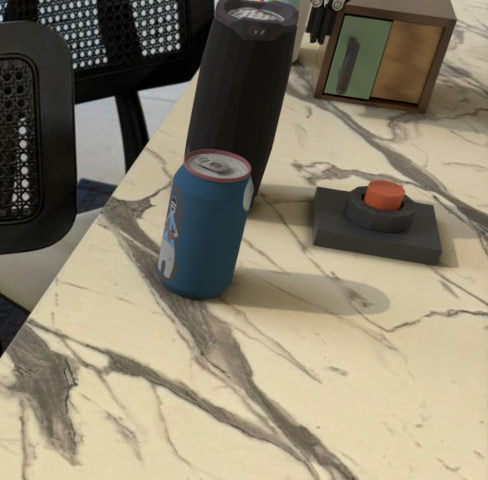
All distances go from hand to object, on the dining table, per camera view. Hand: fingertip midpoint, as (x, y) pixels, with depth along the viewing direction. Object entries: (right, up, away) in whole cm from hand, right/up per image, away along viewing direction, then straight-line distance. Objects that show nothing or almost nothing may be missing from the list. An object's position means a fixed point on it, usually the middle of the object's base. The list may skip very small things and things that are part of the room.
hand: (316, 40), depth 123 cm
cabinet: (+10, -2, +11) cm, 15 cm away
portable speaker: (-15, -24, -15) cm, 31 cm away
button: (0, -25, -20) cm, 32 cm away
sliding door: (+5, -5, +6) cm, 10 cm away
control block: (0, -28, -18) cm, 33 cm away
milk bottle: (-1, +6, +20) cm, 21 cm away
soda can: (-20, -35, -28) cm, 49 cm away
